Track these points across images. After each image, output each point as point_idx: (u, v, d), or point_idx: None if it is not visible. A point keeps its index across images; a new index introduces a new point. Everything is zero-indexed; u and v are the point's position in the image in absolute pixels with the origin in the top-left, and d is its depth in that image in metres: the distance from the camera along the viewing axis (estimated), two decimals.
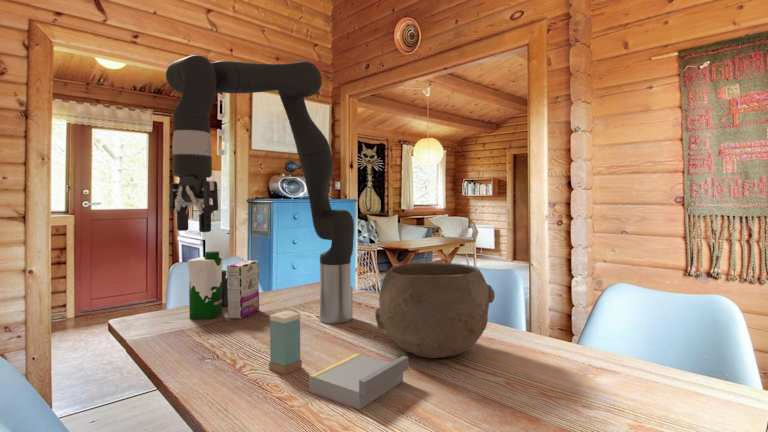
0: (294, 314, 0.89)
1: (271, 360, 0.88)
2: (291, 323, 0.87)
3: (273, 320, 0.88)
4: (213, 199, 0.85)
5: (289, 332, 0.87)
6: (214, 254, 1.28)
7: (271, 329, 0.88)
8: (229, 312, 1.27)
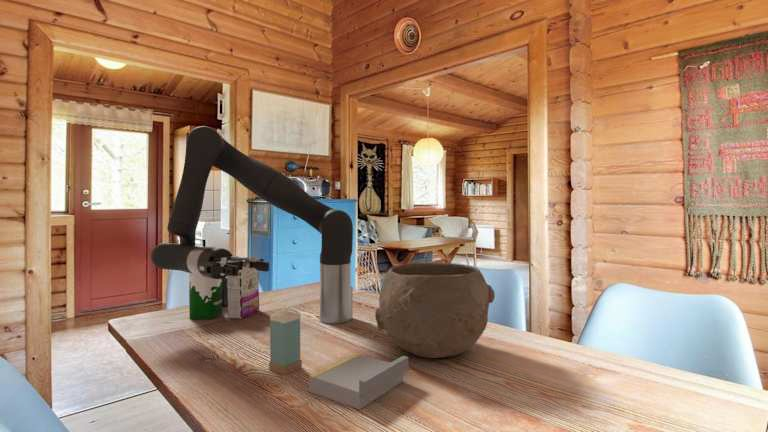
0: (294, 314, 0.89)
1: (271, 360, 0.88)
2: (291, 323, 0.87)
3: (273, 320, 0.88)
4: None
5: (289, 332, 0.87)
6: None
7: (271, 329, 0.88)
8: (229, 312, 1.27)
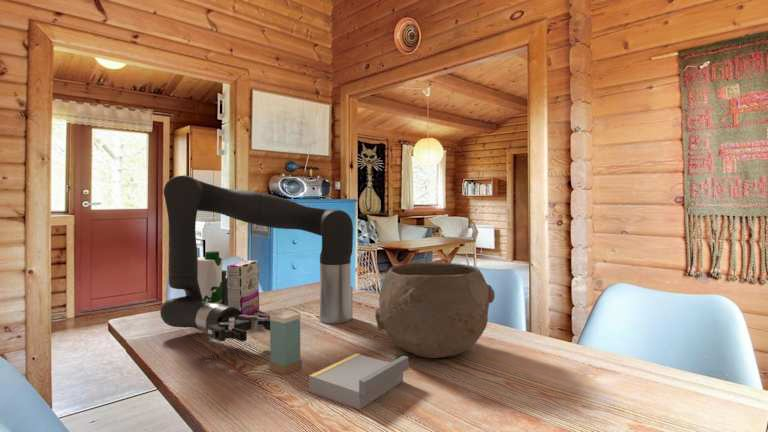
0: (294, 314, 0.89)
1: (271, 360, 0.88)
2: (291, 323, 0.87)
3: (273, 320, 0.88)
4: None
5: (289, 332, 0.87)
6: (214, 254, 1.28)
7: (271, 329, 0.88)
8: None
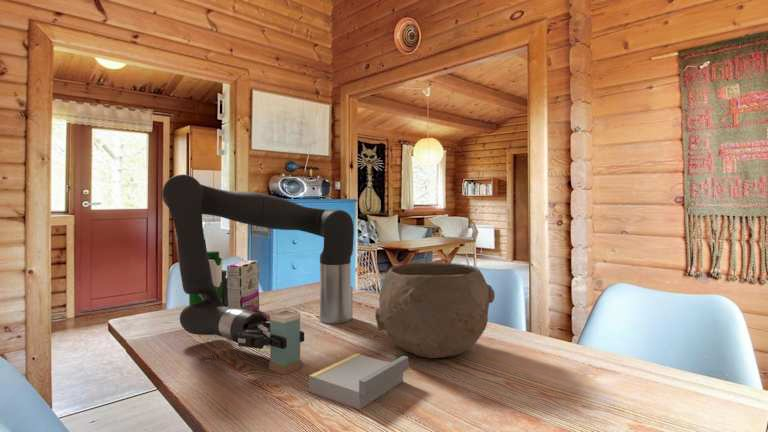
0: (294, 314, 0.89)
1: (271, 360, 0.88)
2: (291, 323, 0.87)
3: (273, 320, 0.88)
4: None
5: (289, 332, 0.87)
6: (214, 254, 1.28)
7: (271, 329, 0.88)
8: None
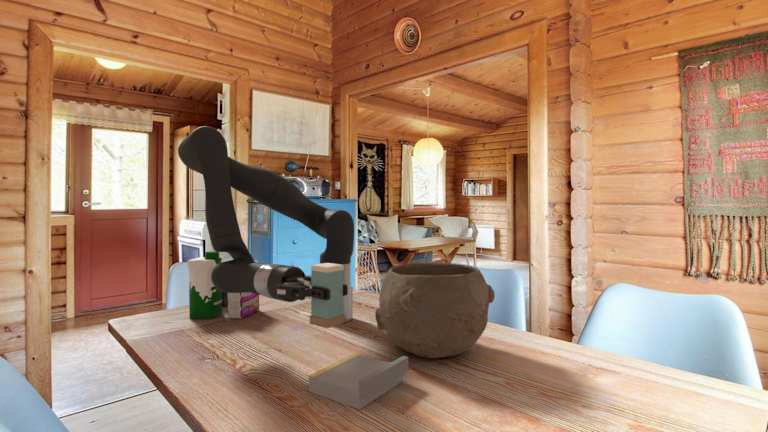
0: (337, 265, 0.82)
1: (312, 314, 0.82)
2: (334, 274, 0.81)
3: (315, 270, 0.81)
4: (294, 288, 0.81)
5: (332, 283, 0.80)
6: (214, 254, 1.28)
7: (312, 280, 0.82)
8: (229, 312, 1.27)
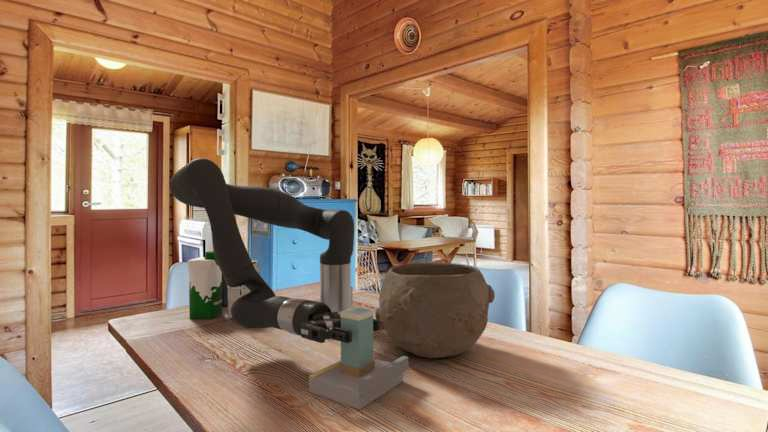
0: (367, 311, 0.80)
1: (341, 362, 0.80)
2: (365, 321, 0.79)
3: (345, 317, 0.79)
4: None
5: (363, 330, 0.78)
6: None
7: (342, 327, 0.79)
8: (229, 312, 1.27)
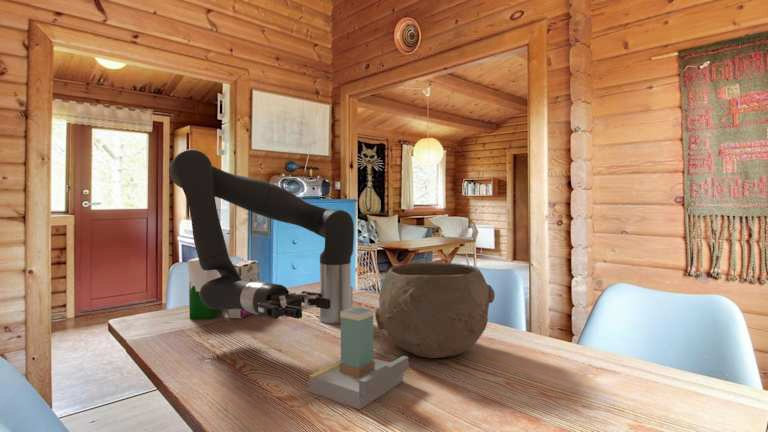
0: (367, 311, 0.80)
1: (341, 362, 0.80)
2: (365, 321, 0.79)
3: (345, 317, 0.79)
4: None
5: (363, 330, 0.78)
6: None
7: (342, 327, 0.79)
8: (229, 312, 1.27)
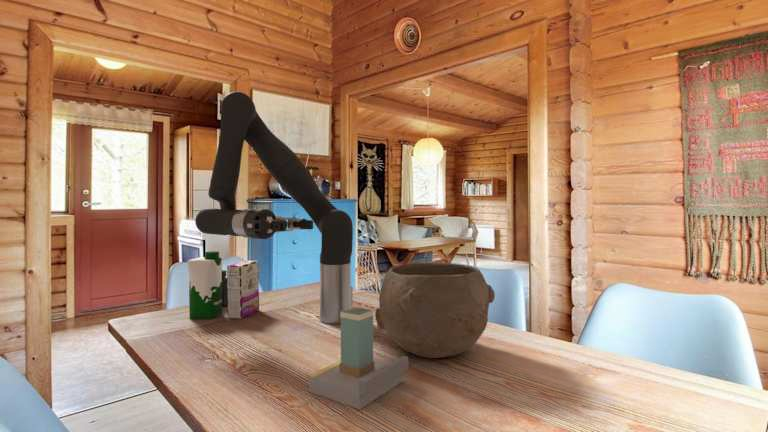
0: (367, 311, 0.80)
1: (341, 362, 0.80)
2: (365, 321, 0.79)
3: (345, 317, 0.79)
4: (258, 222, 0.96)
5: (363, 330, 0.78)
6: (214, 254, 1.28)
7: (342, 327, 0.79)
8: (229, 312, 1.27)
